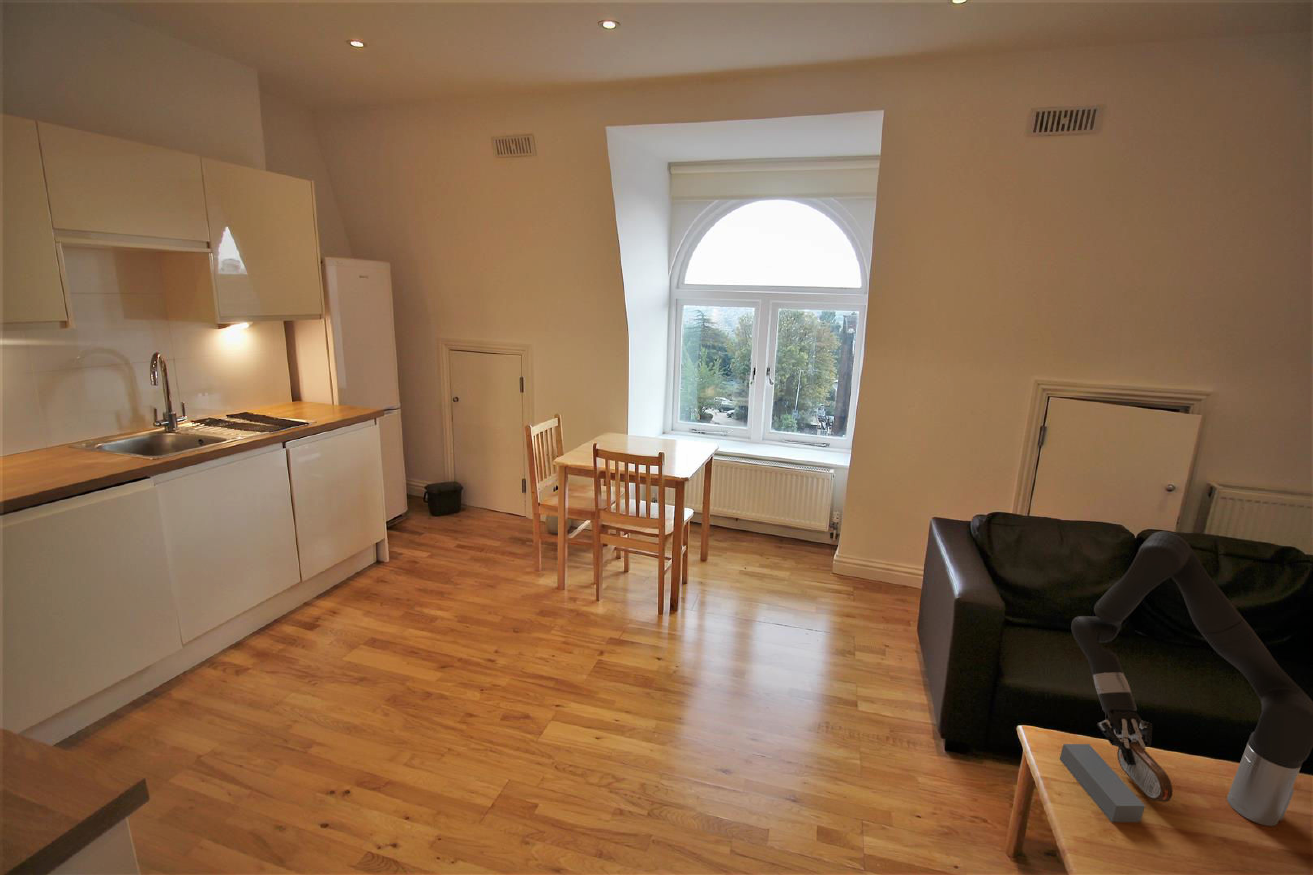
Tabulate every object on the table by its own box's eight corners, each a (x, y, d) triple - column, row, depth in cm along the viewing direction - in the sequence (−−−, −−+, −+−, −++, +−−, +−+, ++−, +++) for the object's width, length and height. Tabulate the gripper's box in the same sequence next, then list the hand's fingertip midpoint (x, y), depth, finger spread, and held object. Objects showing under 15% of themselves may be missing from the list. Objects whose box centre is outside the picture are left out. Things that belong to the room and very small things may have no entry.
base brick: (1085, 759, 164) (1089, 744, 162) (1140, 822, 146) (1145, 805, 144) (1059, 758, 164) (1063, 743, 162) (1111, 822, 145) (1116, 805, 144)
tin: (1167, 810, 147) (1179, 783, 145) (1154, 809, 147) (1166, 782, 145) (1122, 760, 162) (1132, 734, 159) (1110, 759, 162) (1120, 733, 159)
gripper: (1097, 690, 160) (1121, 765, 152) (1149, 690, 160) (1176, 765, 152) (1079, 693, 166) (1101, 764, 158) (1129, 693, 167) (1153, 764, 158)
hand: (1137, 764), depth 155 cm, fingers closed on tin, 2 cm apart
